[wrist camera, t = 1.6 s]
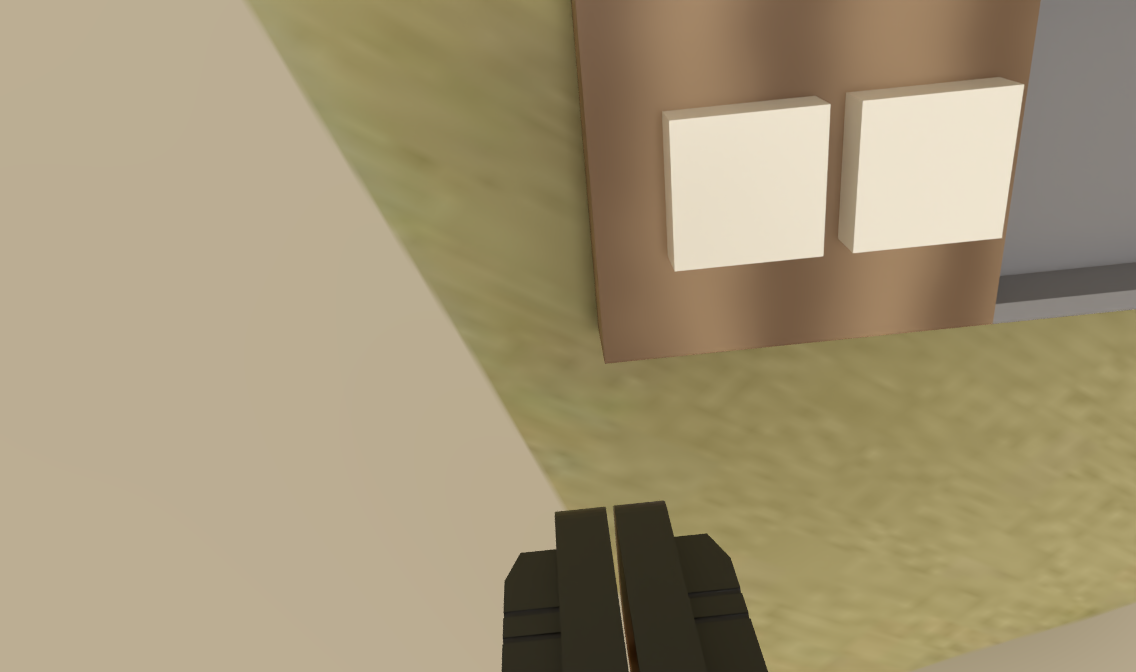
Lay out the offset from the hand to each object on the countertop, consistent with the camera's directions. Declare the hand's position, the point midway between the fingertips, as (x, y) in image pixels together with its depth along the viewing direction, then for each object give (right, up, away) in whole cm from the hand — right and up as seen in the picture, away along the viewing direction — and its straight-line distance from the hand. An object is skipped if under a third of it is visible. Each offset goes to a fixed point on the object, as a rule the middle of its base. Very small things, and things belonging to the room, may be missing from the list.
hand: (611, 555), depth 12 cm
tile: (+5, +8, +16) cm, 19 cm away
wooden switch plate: (+7, +10, +19) cm, 22 cm away
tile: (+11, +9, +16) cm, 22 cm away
